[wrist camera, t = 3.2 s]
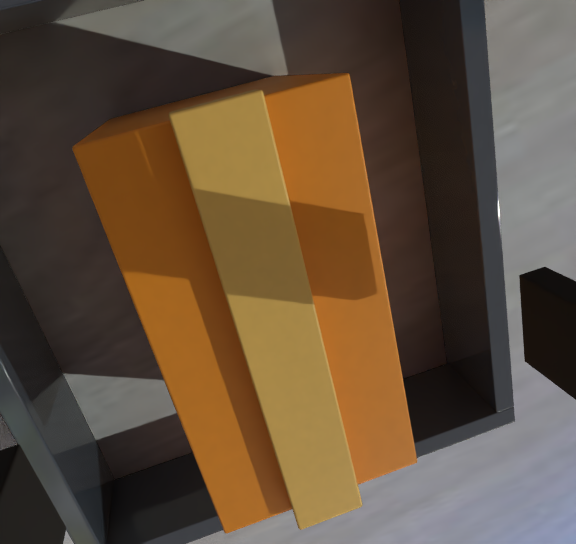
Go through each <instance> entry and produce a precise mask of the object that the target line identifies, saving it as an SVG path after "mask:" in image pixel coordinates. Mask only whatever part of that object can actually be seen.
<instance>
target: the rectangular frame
mask: <svg viewBox="0 0 576 544" xmlns="http://www.w3.org/2000/svg"><path fill="white" fill-rule="evenodd" d="M140 1H144V0H0V34H4V33H8V32H13V31H17V30H21V29H25V28H29V27H34V26H38V25H42V24H46V23H51V22H55V21H59V20H63V19H68V18H72V17H76V16H80V15H85V14H89V13H93V12H97V11H102V10H106V9H110V8H114V7H119V6H123V5H127V4H131V3H136V2H140ZM399 1H400V9H401V16H402V24H403V32H404V39H405V47H406V54H407V62H408V70H409V77H410V85H411V92H412V100H413V108H414V115H415V123H416V130H417V138H418V145H419V153H420V161H421V168H422V176H423V183H424V191H425V199H426V206H427V214H428V221H429V229H430V237H431V244H432V252H433V259H434V267H435V274H436V282H437V290H438V297H439V305H440V312H441V320H442V328H443V335H444V343H445V350H446V358H447V364H446V365H443V366H440V367H437V368H435V369H432V370H429V371H426V372H423V373H420V374H417V375H414V376H412V377H409V378H406V379H403V382H404V388H405V394H406V400H407V405H408V411H409V417H410V422H411V428H412V434H413V440H414V445H415V451H416V457H417V458H418V457H421V456H424V455H427V454H429V453H432V452H435V451H437V450H440V449H443V448H445V447H448V446H451V445H454V444H456V443H459V442H462V441H464V440H467V439H470V438H472V437H475V436H478V435H481V434H483V433H486V432H489V431H491V430H494V429H497V428H499V427H502V426H505V425H507V424H510V423H513V422H515V416H514V407H513V406H514V402H513V389H512V375H511V362H510V348H509V335H508V321H507V308H506V294H505V280H504V267H503V253H502V240H501V226H500V213H499V199H498V186H497V172H496V158H495V145H494V131H493V118H492V104H491V91H490V77H489V64H488V50H487V36H486V23H485V9H484V0H399ZM0 414H1V416H2V418H3V419H4V421H5V423H6V425H7V426H8V428H9V430H10V432H11V433H12V435H13V437H14V439H15V440H16V442H17V444H20V446H21V448H22V450H23V451H24V453H25V455H26V457H27V459H28V460H29V462H30V464H31V466H32V467H33V469H34V471H35V473H36V475H37V476H38V478H39V480H40V482H41V483H42V485H43V487H44V489H45V490H46V492H47V494H48V496H49V498H50V499H51V501H52V503H53V505H54V506H55V508H56V510H57V512H58V514H59V515H60V517H61V519H62V521H63V522H64V524H65V526H66V530H67V532H68V534H69V536H70V537H71V539H72V541H73V543H74V544H186V543H189V542H192V541H194V540H197V539H200V538H203V537H205V536H208V535H211V534H213V533H216V532H219V531H221V530H223V527H222V525H221V522H220V520H219V517H218V515H217V512H216V510H215V507H214V505H213V502H212V500H211V497H210V495H209V492H208V489H207V487H206V484H205V482H204V479H203V477H202V474H201V472H200V469H199V467H198V464H197V462H196V459H195V457H194V454H193V453H191V454H188V455H185V456H182V457H180V458H177V459H174V460H171V461H168V462H165V463H162V464H159V465H157V466H154V467H151V468H148V469H145V470H142V471H139V472H137V473H134V474H131V475H128V476H125V477H122V478H119V479H116V480H114V477H113V475H112V473H111V471H110V469H109V467H108V465H107V463H106V461H105V459H104V457H103V455H102V453H101V451H100V449H99V447H98V445H97V443H96V441H95V439H94V436H93V434H92V432H91V430H90V428H89V426H88V424H87V422H86V420H85V418H84V416H83V414H82V412H81V410H80V408H79V406H78V404H77V402H76V400H75V398H74V396H73V393H72V391H71V389H70V387H69V385H68V383H67V381H66V379H65V377H64V375H63V373H62V371H61V369H60V367H59V365H58V363H57V361H56V359H55V357H54V355H53V353H52V350H51V348H50V346H49V344H48V342H47V340H46V338H45V336H44V334H43V332H42V330H41V328H40V326H39V324H38V322H37V320H36V318H35V316H34V314H33V312H32V310H31V307H30V305H29V303H28V301H27V299H26V297H25V295H24V293H23V291H22V289H21V287H20V285H19V283H18V281H17V279H16V277H15V275H14V273H13V271H12V269H11V267H10V264H9V262H8V260H7V258H6V256H5V254H4V252H3V250H2V248H1V246H0Z"/></svg>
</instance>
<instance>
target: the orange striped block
mask: <svg viewBox="0 0 576 544" xmlns="http://www.w3.org/2000/svg"><path fill="white" fill-rule="evenodd" d="M72 150H73V152H74V155H75V157H76V160H77V162H78V165H79V167H80V170H81V172H82V175H83V177H84V180H85V182H86V185H87V187H88V190H89V192H90V195H91V197H92V200H93V202H94V205H95V208H96V210H97V213H98V215H99V218H100V220H101V223H102V225H103V228H104V230H105V233H106V235H107V238H108V240H109V243H110V245H111V248H112V250H113V253H114V255H115V258H116V260H117V263H118V265H119V268H120V270H121V273H122V275H123V278H124V281H125V283H126V286H127V288H128V291H129V293H130V296H131V298H132V301H133V303H134V306H135V308H136V311H137V313H138V316H139V318H140V321H141V323H142V326H143V328H144V331H145V333H146V336H147V338H148V341H149V343H150V346H151V349H152V351H153V354H154V356H155V359H156V361H157V364H158V366H159V369H160V371H161V374H162V376H163V379H164V381H165V384H166V386H167V389H168V391H169V394H170V396H171V399H172V401H173V404H174V406H175V409H176V411H177V414H178V416H179V419H180V422H181V424H182V427H183V429H184V432H185V434H186V437H187V439H188V442H189V444H190V447H191V449H192V452H193V454H194V457H195V459H196V462H197V464H198V467H199V469H200V472H201V474H202V477H203V479H204V482H205V484H206V487H207V489H208V492H209V495H210V497H211V500H212V502H213V505H214V507H215V510H216V512H217V515H218V517H219V520H220V522H221V525H222V527H223V530H224V532H225V533H229V532H232V531H235V530H237V529H240V528H243V527H245V526H248V525H251V524H253V523H256V522H259V521H261V520H264V519H267V518H270V517H272V516H275V515H278V514H280V513H283V512H286V511H288V510H291V509H293V512H294V515H295V518H296V522H297V525H298V528H299V529H300V530H302V529H304V528H307V527H310V526H312V525H315V524H317V523H320V522H323V521H325V520H328V519H331V518H333V517H336V516H339V515H341V514H344V513H347V512H349V511H352V510H355V509H357V508H360V507H362V501H361V497H360V492H359V488H358V484H361V483H364V482H366V481H369V480H372V479H374V478H377V477H380V476H382V475H385V474H388V473H391V472H393V471H396V470H399V469H401V468H404V467H407V466H409V465H412V464H415V463H417V457H416V451H415V445H414V440H413V434H412V428H411V422H410V417H409V411H408V405H407V400H406V394H405V388H404V382H403V377H402V371H401V365H400V360H399V354H398V348H397V342H396V337H395V331H394V325H393V320H392V314H391V308H390V302H389V297H388V291H387V285H386V280H385V274H384V268H383V262H382V257H381V251H380V245H379V239H378V234H377V228H376V222H375V217H374V211H373V205H372V199H371V194H370V188H369V182H368V177H367V171H366V165H365V159H364V154H363V148H362V142H361V137H360V131H359V125H358V119H357V114H356V108H355V102H354V97H353V91H352V85H351V79H350V75H349V73H333V74H309V75H285V76H272V77H268V78H264V79H260V80H257V81H253V82H249V83H245V84H241V85H237V86H234V87H230V88H226V89H222V90H218V91H215V92H211V93H207V94H203V95H199V96H196V97H192V98H188V99H184V100H180V101H176V102H173V103H169V104H165V105H161V106H157V107H154V108H150V109H146V110H142V111H138V112H134V113H131V114H127V115H123V116H119V117H115V118H112V119H109V120H108V121H107V122H105V123H104V124H103V125H101V126H100V127H99V128H97V129H96V130H94V131H93V132H92V133H90V134H89V135H88V136H86V137H85V138H84V139H82V140H81V141H80V142H78V143H77V144H75V145H74V146H73V147H72Z"/></svg>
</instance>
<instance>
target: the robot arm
mask: <svg viewBox="0 0 576 544" xmlns="http://www.w3.org/2000/svg"><path fill="white" fill-rule="evenodd" d="M519 277H520V293H521V309H522V325H523V341H524V357H525V362H527V363H528V364H529V365H531V366H532V367H533V368H535V369H536V370H537V371H539V372H540V373H541V374H543V375H544V376H545V377H547V378H548V379H549V380H551V381H552V382H553V383H555V384H556V385H557V386H558V387H560V388H561V389H562V390H564V391H565V392H566V393H568V394H569V395H570V396H572V397H573V398H574V399H576V281H574V280H572V279H570V278H567V277H565V276H563V275H561V274H559V273H557V272H555V271H553V270H551V269H548V268H546V267H543V268H540V269H537V270H534V271H531V272H528V273H525V274H522V275H519ZM65 531H66V526H65V524H64V522H63V521H62V519H61V517H60V515H59V514H58V512H57V510H56V508H55V506H54V505H53V503H52V501H51V499H50V498H49V496H48V494H47V492H46V490H45V489H44V487H43V485H42V483H41V482H40V480H39V478H38V476H37V475H36V473H35V471H34V469H33V467H32V466H31V464H30V462H29V460H28V459H27V457H26V455H25V453H24V451H23V450H22V448H21V446H20V444H18V445H16V446H13V447H10V448H7V449H4V450H1V451H0V544H63V541H64V536H65Z"/></svg>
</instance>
